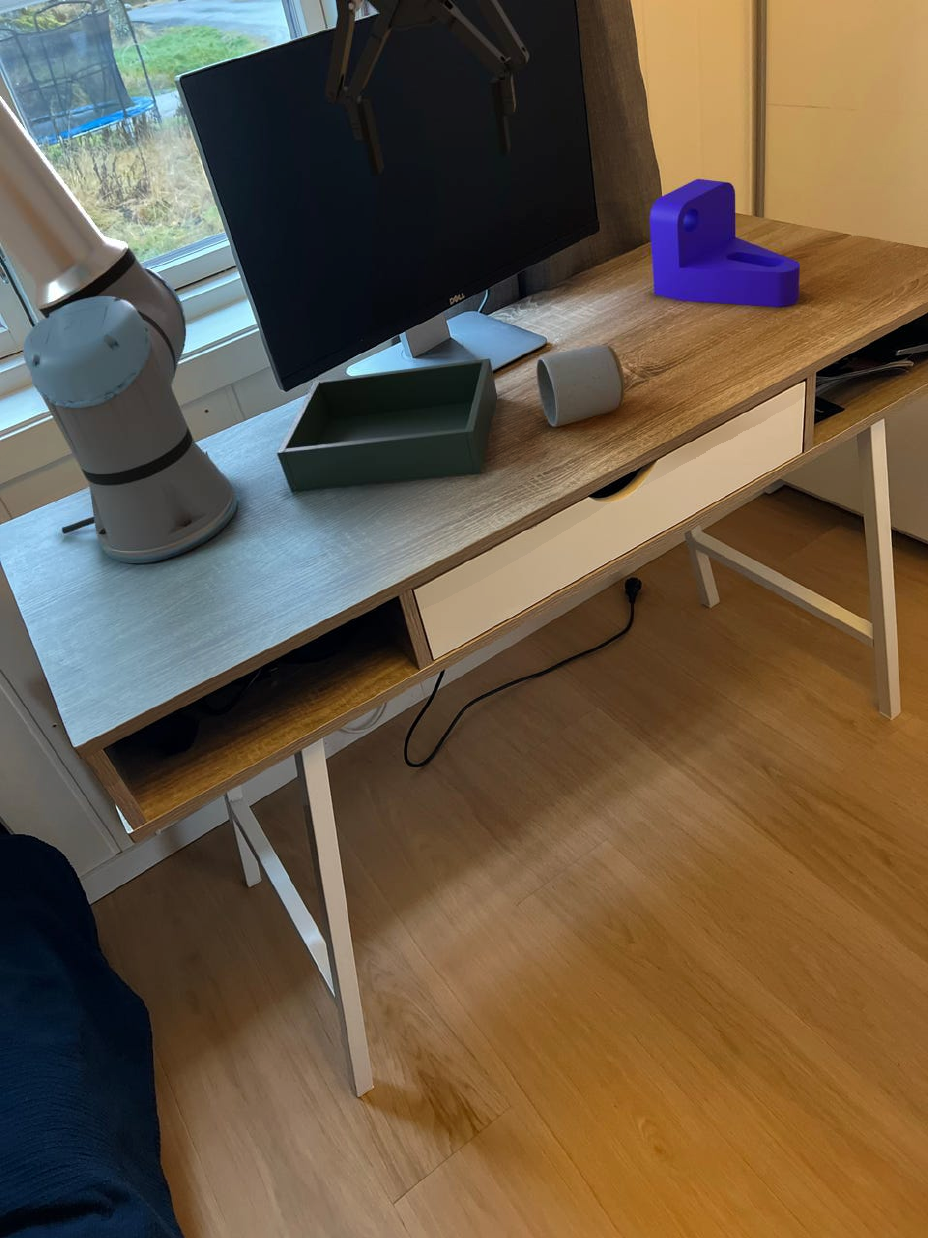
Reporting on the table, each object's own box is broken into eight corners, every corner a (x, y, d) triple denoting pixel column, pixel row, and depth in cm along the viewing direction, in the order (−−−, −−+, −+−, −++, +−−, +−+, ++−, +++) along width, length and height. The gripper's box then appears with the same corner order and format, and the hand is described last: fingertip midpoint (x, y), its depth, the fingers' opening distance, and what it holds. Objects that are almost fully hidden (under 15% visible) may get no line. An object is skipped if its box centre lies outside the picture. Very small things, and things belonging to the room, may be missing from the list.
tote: (291, 492, 102) (276, 453, 99) (326, 417, 115) (314, 380, 112) (482, 473, 98) (473, 431, 94) (497, 397, 110) (490, 358, 107)
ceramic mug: (631, 417, 100) (625, 350, 95) (560, 439, 100) (550, 373, 95) (598, 381, 108) (590, 317, 104) (531, 400, 108) (521, 337, 103)
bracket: (654, 294, 124) (648, 202, 116) (708, 263, 128) (706, 173, 120) (766, 320, 111) (768, 220, 104) (822, 286, 116) (828, 187, 108)
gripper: (251, -60, 82) (318, 190, 96) (529, -123, 77) (558, 152, 90) (276, -69, 88) (336, 168, 101) (537, -129, 82) (563, 132, 95)
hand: (441, 161), depth 96 cm, fingers open, 13 cm apart
